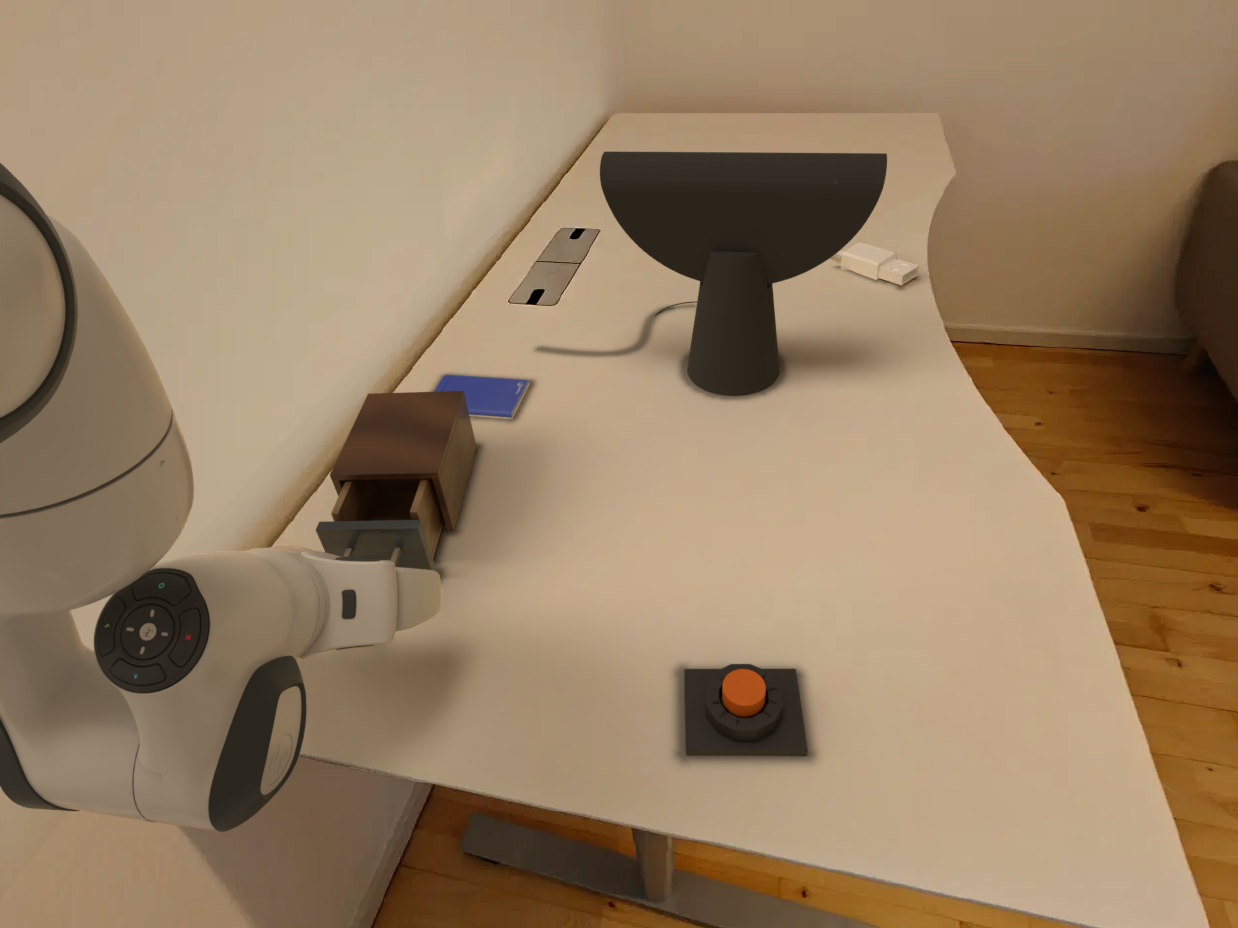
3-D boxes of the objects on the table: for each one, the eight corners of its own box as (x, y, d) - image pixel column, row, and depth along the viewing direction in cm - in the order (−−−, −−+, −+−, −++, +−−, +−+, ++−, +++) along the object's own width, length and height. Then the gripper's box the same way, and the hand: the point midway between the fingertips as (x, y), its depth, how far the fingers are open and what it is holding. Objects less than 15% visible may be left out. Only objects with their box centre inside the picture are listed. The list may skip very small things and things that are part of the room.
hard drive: (529, 378, 110) (445, 372, 113) (511, 414, 104) (422, 407, 107) (531, 387, 111) (447, 382, 114) (513, 424, 105) (425, 417, 108)
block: (805, 761, 68) (809, 738, 65) (686, 760, 68) (685, 738, 66) (794, 679, 74) (797, 656, 71) (684, 679, 74) (683, 656, 72)
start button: (766, 717, 68) (767, 705, 66) (723, 717, 68) (723, 705, 67) (762, 680, 70) (763, 668, 69) (721, 680, 71) (721, 668, 69)
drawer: (425, 611, 81) (407, 559, 76) (325, 612, 82) (301, 560, 77) (459, 492, 95) (445, 441, 90) (373, 494, 96) (354, 443, 90)
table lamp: (572, 452, 100) (541, 222, 81) (536, 337, 121) (505, 133, 102) (870, 391, 106) (909, 162, 86) (787, 291, 127) (802, 89, 107)
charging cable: (760, 228, 146) (760, 210, 144) (918, 279, 126) (921, 259, 124) (741, 237, 144) (741, 219, 142) (898, 291, 124) (901, 271, 122)
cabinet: (455, 536, 91) (437, 472, 84) (354, 538, 91) (329, 475, 85) (478, 452, 102) (463, 390, 95) (388, 455, 102) (367, 393, 96)
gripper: (153, 645, 63) (247, 622, 77) (408, 644, 62) (458, 621, 75) (155, 564, 64) (248, 555, 77) (408, 560, 62) (458, 553, 76)
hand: (354, 588), depth 76 cm, fingers closed
